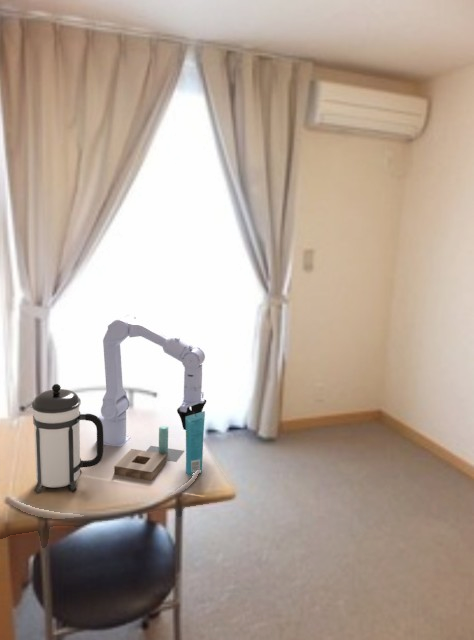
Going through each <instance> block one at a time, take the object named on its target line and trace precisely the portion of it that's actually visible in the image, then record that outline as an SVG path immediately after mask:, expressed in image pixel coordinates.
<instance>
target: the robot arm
mask: <svg viewBox="0 0 474 640" xmlns="http://www.w3.org/2000/svg"><path fill="white" fill-rule="evenodd" d="M135 337H141V338H144V339H146V340H148V341H150V342H152V343H154V344H156V345H158V346H159V347H161V348H162V349H163V353H165V354H166V355H169V356H170V357H172V358H174V359H176V360H177V361H179V362H181V364H182V365H183V367H184V373H183V375H184V376H183V397H182V401H181V404H180V405H179V407H178V408H177V409H176V412H177V415H178V416H179V418H180V422H181V424H182V429H183V430H184V431H186V422H185V417H186V416H189V415H193V414H196V413H200V412H203V411H204V410H203V409H204V407H205V406H206V403H207V399H204V391H202V390H203V389H202V386H203V384H202V383H203V363H204V361H205V359H206V355H205V352H204V351H203V350H202V349H201V348H200V347H196V346H195V347H193V346H192V345H191V344H190V345H188V344H186V343H185V342H183V341H181V338H180V337H178V336H176V337H174V336H171V337H167V336H165V335H164V334H162V333H160V332H159V331H158V330H156V329H154V328H153V327H152V326H150V325H149V324H147V323H145V322H144V321H143V319H141V318H137V316H135V315H131V314H128V315H126V316H124V317H122V318H119V319H116V320H114V321H112V322H111V323H109V324H108V325H107V330H106V332H105V335H104V336H103V338H102V342H103V343H102V344H103V357H104V358H103V360H104V374H105V389H106V391H105V393H104V395H103V397H102V404H101V408H100V415H99V417H98V418H99V419H100V420H101V422H102V425H103V446H112V447H117V448H122V447H123V446H124V445H125V444H126V443H127V442H128V441H129V440H130V439H131V438H132V437H131V436H130V435H128V436H127V410H128V409H130V400H129V398H128V396H127V391H126V390H125V389H124V387H123V385H124V384H123V372H122V371H123V370H122V369H123V368H122V355H121V352H122V351H121V343H123V342H124V340H125V339H127V338H135ZM190 407H191V408H190ZM95 444H96V445H97V440H96V441H95Z"/></svg>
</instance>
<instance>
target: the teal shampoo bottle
mask: <svg viewBox="0 0 474 640" xmlns="http://www.w3.org/2000/svg"><path fill="white" fill-rule="evenodd" d="M205 416H206V412H205V410H202V412H200V413H196V414H193V415H189V416H186V417H185V422H186V430H185V473H186V474H187V475H190V476H193V475H192V474H193V473H195V472H196V471H197V470H201V474H202V472H203V457H204V456H203V454H204V449H203V448H204V436H205V435H204V433H205V420H206V419H205Z"/></svg>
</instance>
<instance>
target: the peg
mask: <svg viewBox="0 0 474 640" xmlns="http://www.w3.org/2000/svg"><path fill="white" fill-rule="evenodd" d="M158 447H159V453H162V454H168V448H169V426H167V425H160V426H159V427H158Z"/></svg>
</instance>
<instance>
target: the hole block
mask: <svg viewBox="0 0 474 640" xmlns="http://www.w3.org/2000/svg"><path fill="white" fill-rule="evenodd" d="M166 455H167V454H162V453H155V452H149V451H146V450H142V449H136V448H130V450H129V451H128V452H127V453H126V454H125V455H123V457H122V458H121V459H119V461H118V462H117V463H115V465H114V468H113V469H114V471H113V472H114V473H113V474H114V475H118V476H122V477H129V478H135V479H141V480H147V481H153V480H154V479H155V477H156V476H157V475H158V473H159V472H160V471H161V469H162V468H163V467H164V465H166V463H167V460H166Z"/></svg>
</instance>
